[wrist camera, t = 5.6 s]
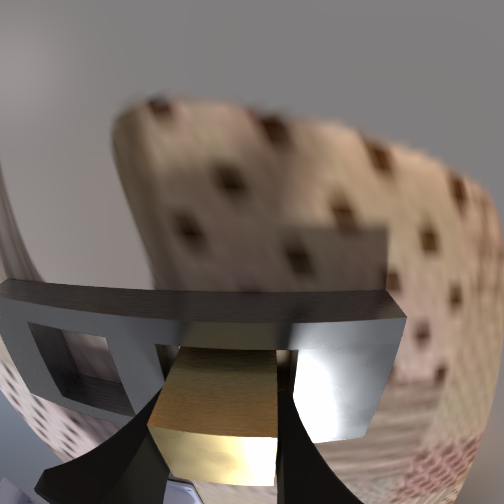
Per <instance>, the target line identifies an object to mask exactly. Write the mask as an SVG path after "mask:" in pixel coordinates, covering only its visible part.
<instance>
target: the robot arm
mask: <svg viewBox="0 0 504 504" xmlns="http://www.w3.org/2000/svg"><path fill="white" fill-rule="evenodd" d="M162 388H163V386H162ZM162 388H161V389H160V390H159V391H158V392H157V393H156V394H155V395H154V397H153V398H152V399H151V400H150V401H149V402H148V403H147V404H146V405H145V406H144V407H143V409H142V410H141V411H140V412H139V413H138V414H137V415H136V416H135V417H134V418H133V419H132V420H131V421H129V422H128V423H127V424H126V425H125V426H124V427H123V428H122V429H121V430H119V431H118V432H117V433H116V434H114V435H113V436H112V437H111V438H109V439H108V440H106V441H105V442H104V443H102V444H101V445H99V446H98V447H96V448H94V449H93V450H91V451H89V452H88V453H86V454H84V455H82V456H80V457H78V458H76V459H73V460H71V461H69V462H67V463H64V464H61V465H58V466H55V467H53V468H49V469H46V470H44V472H43V474H42V475H41V477H40V479H39V481H38V483H37V485H36V486H35V488H34V490H35V492H36V493H37V494H38V495H40V496H41V497H42V498H43V499H45V500H46V501H47V502H49V503H50V504H203V503H202V501H201V500H200V498H199V496H198V494H197V492H196V490H195V489H194V487H193V486H192V485H190V484H185V483H179V482H174V481H169V480H168V476H169V473H170V469H169V467H168V465H167V464H166V462H165V460H164V458H163V456H162V454H161V452H160V451H159V449H158V447H157V445H156V443H155V441H154V439H153V437H152V435H151V433H150V431H149V429H148V427H147V424H148V421H149V419H150V416H151V414H152V412H153V409H154V407H155V404H156V402H157V400H158V397H159V395H160V393H161V390H162ZM277 414H278V440H277V451H276V461H275V464H276V475H277V490H278V493H277V504H364V503H362V502H361V501H360V500H359V499H358V498H357V497H356V496H355V495H354V494H353V493H352V492H351V491H350V490H349V489H348V488H347V487H346V486H345V485H344V484H343V483H342V482H341V481H340V480H339V478H338V477H337V476H336V475H335V474H334V472H333V471H332V470H331V469H330V467H329V466H328V465H327V463H326V462H325V461H324V459H323V458H322V456H321V455H320V453H319V452H318V450H317V448H316V447H315V445H314V443H313V442H312V440H311V438H310V436H309V434H308V432H307V430H306V428H305V426H304V424H303V422H302V420H301V417H300V415H299V412H298V410H297V407H296V404H295V401H294V397H293V393H291V392H277ZM0 504H39V503H38V502H36V501H34V500H33V499H32V498H30V497H29V496H28V495H27V494H25V493H24V492H23V491H22V490H20V489H19V488H18V487H16V486H15V485H14V484H12V483H11V482H10V481H8V480H7V479H6V478H3V479H2V481H1V483H0Z"/></svg>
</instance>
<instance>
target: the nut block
mask: <svg viewBox="0 0 504 504" xmlns="http://www.w3.org/2000/svg"><path fill="white" fill-rule="evenodd" d="M147 427H148V429H149V431H150V433H151V435H152V437H153V439H154V441H155V443H156V445H157V447H158V449H159V451H160V452H161V454H162V456H163V458H164V460H165V462H166V464H167V465H168V467H169V469H170V471H171V472H172V474H173V476H174V477H178V478H184V479H190V480H197V481H204V482H212V483H222V484H234V485H253V486H273V480H274V471H275V461H276V451H277V440H278V414H277V357H276V350H242V349H216V348H199V347H185V346H181V347H180V349H179V351H178V353H177V356H176V358H175V360H174V363H173V365H172V367H171V369H170V372H169V374H168V376H167V379H166V381H165V383H164V386H163V388H162V390H161V393H160V395H159V397H158V400H157V402H156V404H155V407H154V409H153V412H152V414H151V416H150V419H149V421H148V424H147Z"/></svg>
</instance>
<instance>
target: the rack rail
mask: <svg viewBox="0 0 504 504" xmlns="http://www.w3.org/2000/svg"><path fill="white" fill-rule="evenodd" d="M406 319H407V316H406V315H405V314H404V312H403V311H402V310H401V308H400V307H399V306H398V305H397V303H396V302H395V301H394V300H393V298H392V297H391V296H390V294H389V293H388V292H387V291H386V290H377V291H349V292H301V293H241V292H192V291H164V290H142V289H124V288H122V289H121V288H107V287H93V286H79V285H67V284H54V283H45V282H34V281H25V280H16V279H7V280H5V281H4V282H2V283H1V284H0V334H1V337H2V339H3V341H4V343H5V346H6V348H7V350H8V352H9V354H10V356H11V358H12V360H13V362H14V364H15V366H16V368H17V370H18V372H19V373H20V375H21V377H22V379H23V381H24V382H25V384H26V386H27V388H28V389H29V391H30V393H33V394H35V395H37V396H39V397H41V398H44V399H46V400H48V401H51V402H53V403H56V404H58V405H61V406H63V407H66V408H69V409H71V410H74V411H77V412H80V413H83V414H86V415H89V416H92V417H95V418H98V419H102V420H105V421H108V422H112V423H115V424H119V425H123V426H125V425H126V424H127V423H128V422H129V421H131V420H132V419H133V418H134V417H135V416H136V415H137V414H138V413H139V412H140V411H141V410H142V409H143V407H144V406H145V405H146V404H147V403H148V402H149V401H150V400H151V399H152V398H153V397H154V395H155V394H156V393H157V392H158V391H159V390H160V389H161V388H162V386H164V383H165V381H166V379H167V376H168V374H169V372H170V369H171V367H172V365H173V363H174V360H175V358H176V356H177V353H178V351H179V349H178V346H185V347H199V348H216V349H242V350H292V355H291V367H290V379H289V390H288V392H291V393H293V397H294V401H295V404H296V407H297V410H298V412H299V415H300V417H301V420H302V422H303V424H304V426H305V428H306V430H307V432H308V434H309V436H310V438H311V440H312V442H313V443H316V442H328V441H337V440H346V439H353V438H360V437H364V435H365V433H366V430H367V428H368V426H369V424H370V422H371V420H372V417H373V415H374V413H375V410H376V408H377V406H378V403H379V401H380V398H381V396H382V393H383V391H384V388H385V385H386V383H387V380H388V377H389V374H390V372H391V369H392V366H393V363H394V360H395V357H396V354H397V351H398V347H399V344H400V341H401V337H402V334H403V330H404V327H405V323H406ZM60 329H63V330H68V331H73V332H78V333H84V334H90V335H95V336H101V337H105V338H106V341H107V344H108V347H109V350H110V352H111V355H112V358H113V361H114V363H115V366H116V369H117V371H118V374H119V377H120V379H121V382H122V384H123V385H122V384H118V383H113V382H109V381H104V380H100V379H96V378H92V377H88V376H84V375H81V374H79V373H78V371H77V369H76V367H75V364H74V362H73V360H72V357H71V355H70V353H69V350H68V348H67V345H66V343H65V340H64V338H63V335H62V333H61V330H60Z"/></svg>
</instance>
